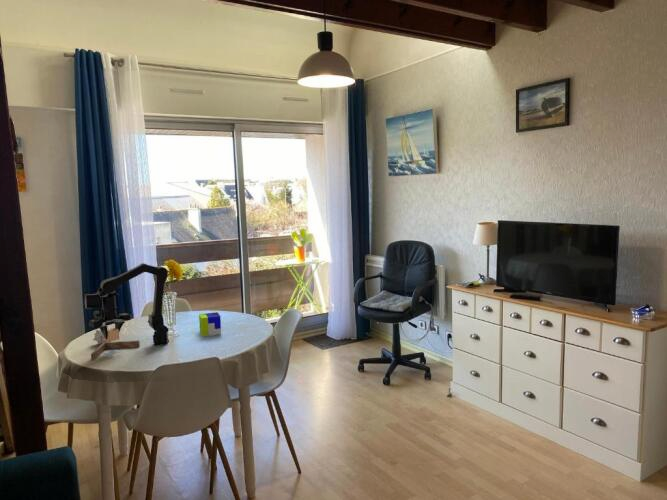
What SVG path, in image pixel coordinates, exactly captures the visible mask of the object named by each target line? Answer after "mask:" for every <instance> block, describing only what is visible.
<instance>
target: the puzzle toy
mask: <svg viewBox="0 0 667 500" xmlns="http://www.w3.org/2000/svg"><path fill="white" fill-rule="evenodd" d="M221 318H222V317H221V315H220V314H219V312H218V311H217V312H207V313H199V314H198V319H199V320H198V321H199V332H201V333H200V335H201V334H202V335H201V336H202V337H208V336H207V335H210V336H216V335H215V334H219V335H222V323H221V322H222V321H221Z"/></svg>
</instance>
